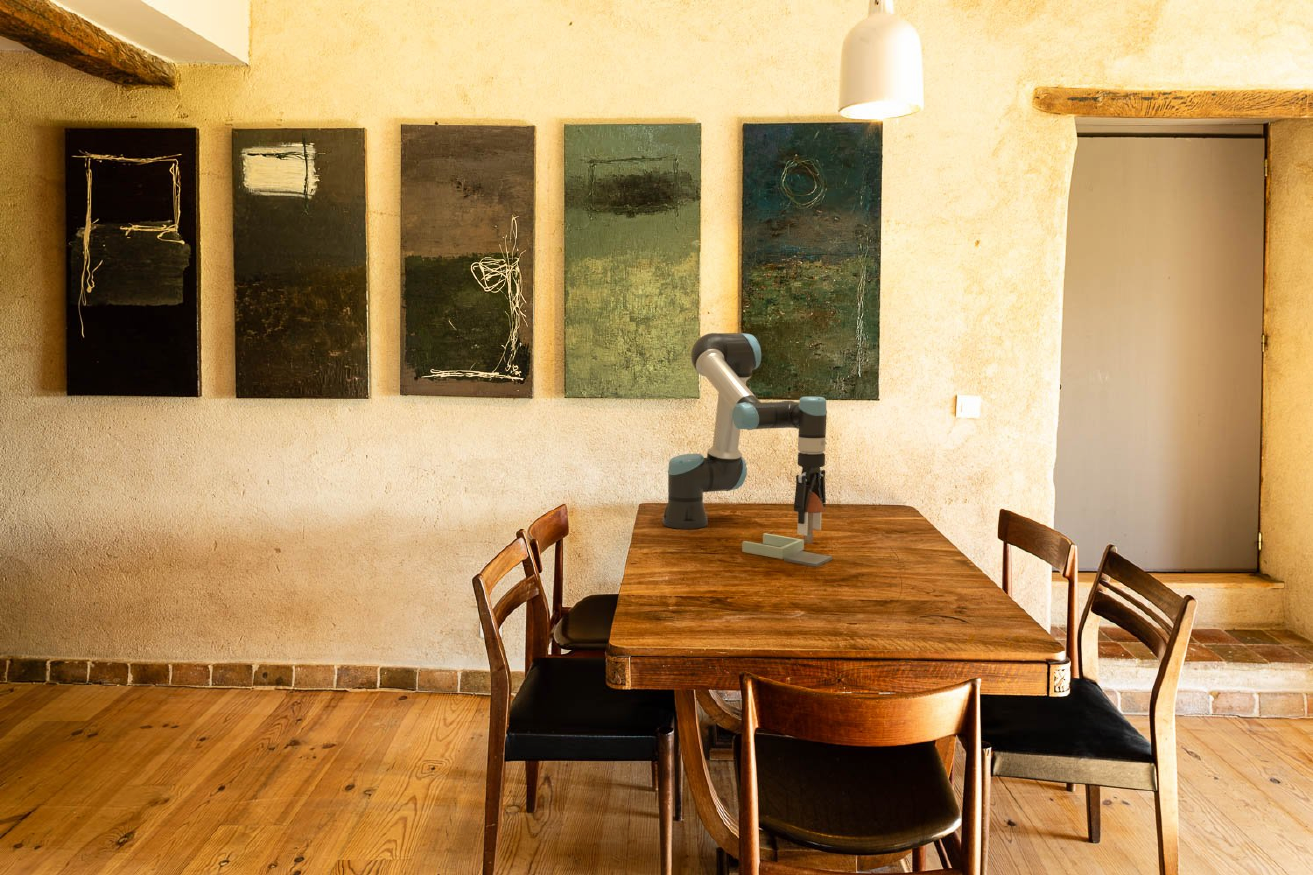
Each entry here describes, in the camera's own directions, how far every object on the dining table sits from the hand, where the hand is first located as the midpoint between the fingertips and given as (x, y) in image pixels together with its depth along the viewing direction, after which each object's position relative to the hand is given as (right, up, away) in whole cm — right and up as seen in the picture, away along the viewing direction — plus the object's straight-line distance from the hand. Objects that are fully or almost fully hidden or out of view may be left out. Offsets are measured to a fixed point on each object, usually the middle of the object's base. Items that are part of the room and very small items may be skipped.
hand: (809, 531), depth 233 cm
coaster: (0, -8, +1) cm, 8 cm away
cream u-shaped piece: (-9, -7, +11) cm, 16 cm away
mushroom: (0, -3, 0) cm, 3 cm away
